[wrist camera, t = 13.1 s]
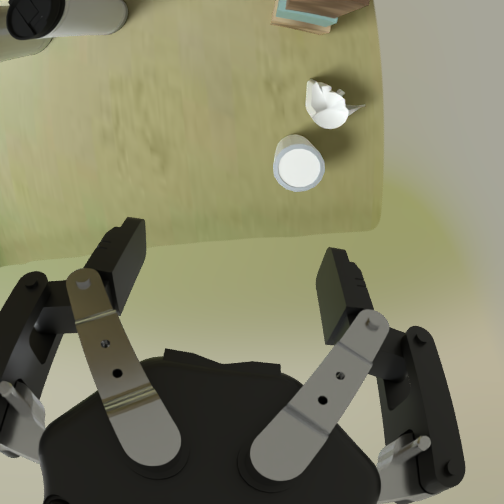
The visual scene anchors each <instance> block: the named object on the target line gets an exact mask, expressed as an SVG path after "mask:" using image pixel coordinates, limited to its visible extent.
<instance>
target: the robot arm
mask: <svg viewBox="0 0 504 504" xmlns="http://www.w3.org/2000/svg"><path fill="white" fill-rule="evenodd" d="M8 8H9V6H0V62H3V61H7V60H11V59H15V58H20V57H25V56H29V55H34V54H37V53H39V52H41V51H42V50H43V49H44V48H45V47H46V46H47V45H48V44H49V43H50V41H51V39H52V37H51V38H41V39H30V40H17V39H15V38H13V37H12V36H11V35H10V33H9V32H8V29H7V26H6V16H7V11H8ZM145 256H146V230H145V220H144V219H139V218H132V217H127V218H126V220H125V221H124V223H123V224H122V226H121V227H114V228H112V229H111V230H110V231H108V232H107V233H106V234H105V235H104V237H103V238H102V240H101V242H100V243H99V244H98V246H97V248H96V249H95V250H94V252H93V254H92V255H91V257H90V258H89V260H88V261H87V263H86V264H85V266H84V268H82V269H78V270H76V271H74V272H72V273H71V274H70V275H69V276H68V278H67V280H63V281H51V282H50V281H49V282H48V280H47V277H46V275H45V274H44V273H42V272H38V271H34V272H30V273H27V274H25V275H24V276H23V277H21V278H20V280H19V281H18V283H17V285H16V286H15V287H14V289H13V291H12V292H11V294H10V296H9V297H8V299H7V301H6V302H5V304H4V306H3V308H2V309H1V311H0V452H2V453H3V454H5V455H6V456H8V457H11V458H17V457H19V456H22V457H24V458H26V459H29V460H31V461H33V462H36V463H38V464H40V466H41V470H42V475H43V481H44V501H43V504H382V503H389V502H395V503H397V504H408V503H412V502H415V501H420V500H423V499H426V498H429V497H432V496H434V495H437V494H439V493H441V492H442V491H444V490H447V489H449V488H452V487H454V486H456V485H458V484H459V483H460V482H461V481H462V479H463V477H464V474H465V461H464V456H463V450H462V444H461V439H460V435H459V430H458V425H457V421H456V416H455V412H454V408H453V404H452V400H451V396H450V392H449V389H448V385H447V381H446V378H445V374H444V371H443V368H442V364H441V362H440V358H439V355H438V352H437V349H436V346H435V343H434V340H433V338H432V336H431V334H430V333H429V332H428V331H427V330H425V329H424V328H422V327H419V326H412V327H410V328H409V329H408V330H407V332H406V333H404V332H401V331H398V330H395V329H393V328H390V327H389V323H388V321H387V320H386V318H385V317H384V316H383V315H382V314H380V313H378V312H377V311H374V308H373V305H372V302H371V299H370V296H369V293H368V290H367V288H366V284H365V281H364V278H363V275H362V272H361V270H360V269H359V268H358V267H357V265H356V264H355V263H354V262H349V259H348V256H347V253H346V251H345V250H343V249H337V248H331V247H329V248H328V249H327V250H326V253H325V255H324V258H323V261H322V264H321V266H320V269H319V271H318V274H317V278H316V290H317V296H318V302H319V307H320V313H321V320H322V326H323V333H324V339H325V344H326V345H334V347H333V349H332V350H331V351H330V352H329V354H328V355H327V356H326V358H325V359H324V360H323V362H322V363H321V364H320V365H319V367H318V368H317V369H316V371H315V372H314V373H313V374H312V376H311V377H310V378H309V379H308V380H307V382H306V383H305V384H304V385H302V384H301V383H300V382H299V381H297V380H296V379H294V378H292V377H290V376H288V375H286V374H284V373H281V370H280V369H281V366H280V364H273V363H263V362H253V361H251V362H242V363H231V364H220V363H218V362H215V361H212V360H209V359H207V358H204V357H202V356H199V355H197V354H194V353H189V352H183V351H177V350H172V349H165V352H164V356H162V357H153V358H149V359H145V360H143V361H141V362H139V360H138V358H137V356H136V354H135V352H134V350H133V348H132V346H131V344H130V342H129V339H128V337H127V335H126V333H125V331H124V328H123V326H122V324H121V322H120V319H119V317H118V316H121V313H122V311H123V308H124V306H125V304H126V301H127V299H128V297H129V294H130V292H131V290H132V287H133V285H134V283H135V280H136V278H137V276H138V274H139V272H140V269H141V267H142V265H143V263H144V260H145ZM64 333H78V335H79V338H80V341H81V345H82V348H83V351H84V354H85V357H86V360H87V362H88V365H89V368H90V371H91V374H92V376H93V379H94V382H95V384H96V387H97V389H98V390H97V391H96V392H95V393H93V394H92V395H90V396H89V397H88V398H86V399H85V400H83V401H82V402H80V403H79V404H77V405H76V406H74V407H73V408H72V409H70V410H69V411H67V412H66V413H64V414H63V415H61V416H60V417H58V418H57V419H56V420H54V421H53V422H52V423H50V424H49V425H48V426H47V427H46V428H45V423H44V420H45V410H44V407H43V405H42V403H41V402H40V401H39V399H40V397H41V393H42V390H43V387H44V384H45V381H46V379H47V375H48V373H49V370H50V367H51V364H52V362H53V359H54V357H55V354H56V351H57V349H58V346H59V344H60V341H61V339H62V336H63V334H64ZM367 374H370V375H373V376H376V378H377V384H378V390H379V397H380V404H381V412H382V418H383V427H384V436H385V445H386V446H385V447H384V448H383V449H382V450H381V452H380V453H379V456H378V463H377V468H376V466H375V464H374V463H373V462H372V461H371V460H370V458H368V456H367V455H366V454H365V453H364V452H363V451H362V450H361V449H360V448H359V447H358V446H357V445H356V443H355V442H354V441H353V440H352V439H351V438H350V437H349V436H348V435H347V433H346V432H345V431H344V430H343V429H342V428H341V427H340V426H339V425H338V423H337V422H338V421H339V419H340V418H341V416H342V415H343V413H344V412H345V410H346V409H347V407H348V405H349V404H350V402H351V401H352V399H353V397H354V396H355V394H356V393H357V391H358V389H359V388H360V386H361V384H362V383H363V381H364V379H365V377H366V376H367ZM408 377H409V378H408Z"/></svg>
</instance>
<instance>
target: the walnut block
mask: <svg viewBox="0 0 504 504" xmlns="http://www.w3.org/2000/svg"><path fill="white" fill-rule="evenodd" d="M368 5H369V0H287V1H286V8H285V9H286V10H293V11H299V12H305V13H310V14H315V15H320V16H325V17H330V18H334V19H335V18H337V17H340V16H342V15H345V14H347V13H350V12H352V11H355V10H357V9H360V8H363V7H365V6H368Z"/></svg>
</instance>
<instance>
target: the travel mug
mask: <svg viewBox="0 0 504 504" xmlns="http://www.w3.org/2000/svg"><path fill="white" fill-rule="evenodd" d="M8 3H9V4H10V6H9V8H8V11H7V16H6V26H7V29H8V32H9V33H10V35H11V36H12V37H13V38H15V39H17V40H30V39H41V38H51V37H63V36H79V35H109V34H112V33H114V32H116V31H118V30H119V29H120V28H121V27H122V26H123V25H124V23H125V22H126V20H127V17H128V8H127V5H126V3H125V2H124V1H123V0H9V2H8Z"/></svg>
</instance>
